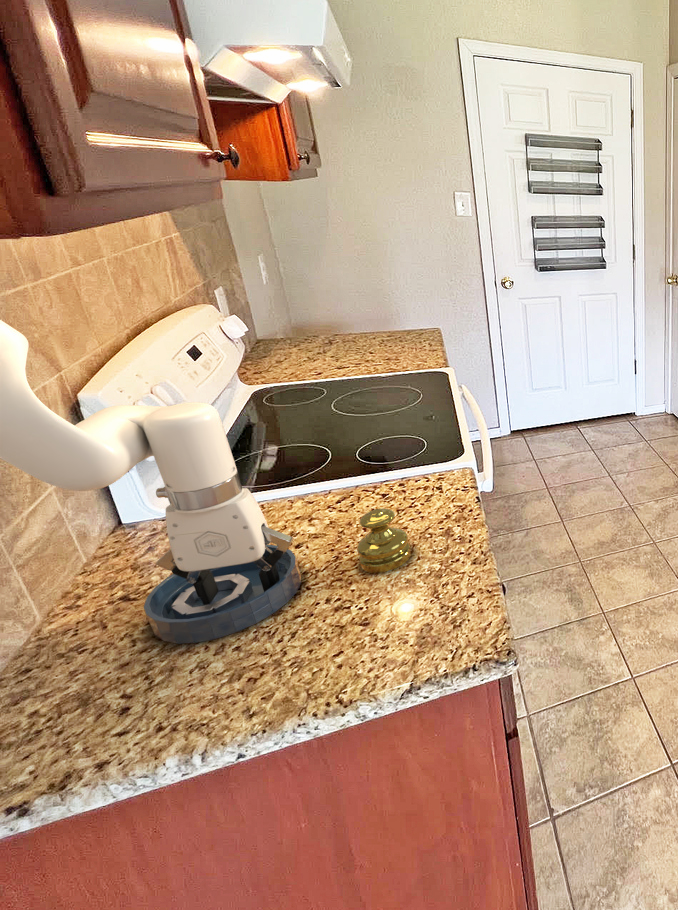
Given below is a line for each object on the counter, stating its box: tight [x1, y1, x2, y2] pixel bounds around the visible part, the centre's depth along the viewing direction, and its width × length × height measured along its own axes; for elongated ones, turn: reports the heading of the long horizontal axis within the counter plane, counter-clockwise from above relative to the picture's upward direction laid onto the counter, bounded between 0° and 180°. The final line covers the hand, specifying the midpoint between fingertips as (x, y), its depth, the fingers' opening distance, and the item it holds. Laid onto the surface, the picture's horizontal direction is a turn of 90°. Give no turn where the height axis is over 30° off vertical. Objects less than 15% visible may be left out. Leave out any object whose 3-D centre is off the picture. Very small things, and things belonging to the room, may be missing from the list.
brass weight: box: [356, 508, 412, 574], centre depth 94 cm, size 7×7×10 cm
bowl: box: [143, 544, 302, 645], centre depth 85 cm, size 17×17×4 cm
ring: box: [172, 574, 253, 619], centre depth 85 cm, size 8×8×2 cm
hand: (241, 592), depth 86 cm, fingers open, 6 cm apart
